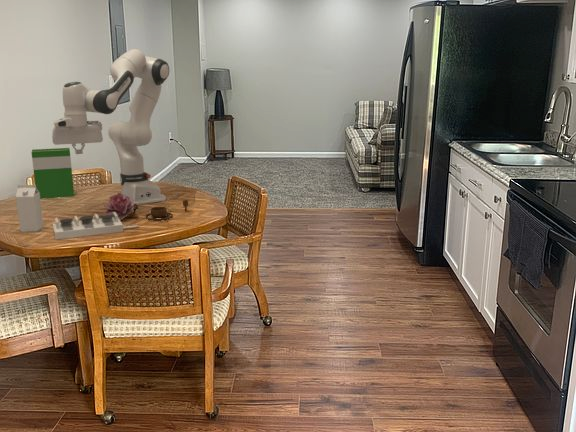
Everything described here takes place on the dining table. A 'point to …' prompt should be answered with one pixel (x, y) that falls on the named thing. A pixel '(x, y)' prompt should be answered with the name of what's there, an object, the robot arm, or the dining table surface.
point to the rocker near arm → (106, 216)
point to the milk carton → (29, 208)
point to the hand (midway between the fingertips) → (79, 153)
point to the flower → (121, 206)
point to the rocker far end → (66, 220)
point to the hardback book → (53, 172)
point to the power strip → (88, 227)
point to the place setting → (162, 212)
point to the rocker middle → (86, 218)
